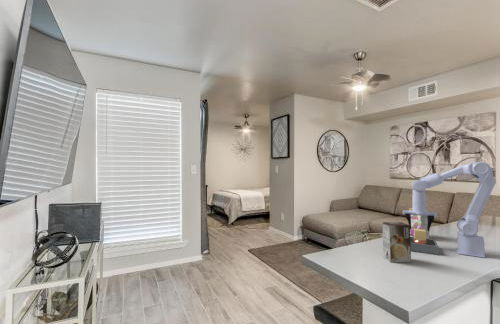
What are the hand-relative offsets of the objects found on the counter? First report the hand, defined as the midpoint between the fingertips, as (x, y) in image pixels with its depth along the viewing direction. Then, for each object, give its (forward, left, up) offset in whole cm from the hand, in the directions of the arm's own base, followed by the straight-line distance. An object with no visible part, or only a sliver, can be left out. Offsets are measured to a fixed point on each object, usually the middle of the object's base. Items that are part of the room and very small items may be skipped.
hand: (419, 229), depth 129 cm
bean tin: (0, +4, -8) cm, 9 cm away
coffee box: (+10, +28, -9) cm, 31 cm away
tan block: (0, +4, -4) cm, 5 cm away
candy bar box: (-1, -22, -9) cm, 24 cm away
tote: (0, +4, -9) cm, 10 cm away
